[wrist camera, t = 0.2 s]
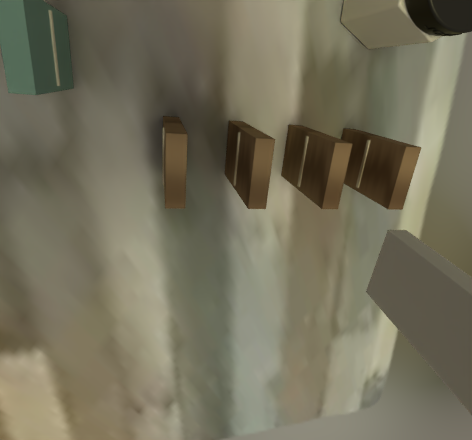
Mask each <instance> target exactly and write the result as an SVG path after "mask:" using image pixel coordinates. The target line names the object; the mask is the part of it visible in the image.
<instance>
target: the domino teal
mask: <svg viewBox="0 0 472 440" xmlns="http://www.w3.org/2000/svg"><path fill="white" fill-rule="evenodd" d="M0 45H1V51H2V57H3V63H4V69H5V75H6V81H7V87H8V92H9V93H16V94H29V95H39V94H45V93H50V92H56V91H62V90H67V89H73V88H74V86H73V76H72V66H71V55H70V45H69V34H68V24H67V16H66V15H65V14H63V13H61V12H60V11H58V10H57V9H55V8H54V7H52V6H51V5H49V4H47V3H46V2H44V1H43V0H0Z"/></svg>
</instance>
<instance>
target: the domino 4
mask: <svg viewBox="0 0 472 440" xmlns="http://www.w3.org/2000/svg"><path fill="white" fill-rule="evenodd" d="M341 140H343V141H346V142H349V143H352V148H351V152H350V157H349V161H348V166H347V170H346V175H345V179H344V184H346V185H348V186H349V187H351V188H353V189H354V190H356V191H358V192H360V193H361V194H363V195H365V196H366V197H368V198H370V199H371V200H373V201H375V202H377V203H378V204H380V205H382V206H383V207H385V208H387V209H403V205H404V202H405V199H406V196H407V192H408V189H409V186H410V183H411V179H412V176H413V173H414V170H415V166H416V163H417V160H418V157H419V153H420V150H421V147H417V146H414V145H410V144H406V143H403V142H399V141H396V140H392V139H389V138H385V137H381V136H378V135H374V134H371V133H367V132H363V131H360V130H356V129H343V134H342V139H341Z"/></svg>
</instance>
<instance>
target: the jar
mask: <svg viewBox="0 0 472 440" xmlns="http://www.w3.org/2000/svg"><path fill="white" fill-rule="evenodd" d="M341 23H342V24H343V25H344V26H345V27H346V28H347V29H348V30H349V31H350V32H351V33H352V34H354V35H355V36H356V37H357V38H358V39H359V40H360V41H361V42H362V43H363V44H364V45H365V46H366V47H367V48H368V49H376V48H385V47H393V46H402V45H411V44H419V43H428V42H432V41H434V40H436V39H438V38H440V37H442V36H453V35H460V34H462V33H467V32H471V31H472V0H344V4H343V10H342V16H341Z"/></svg>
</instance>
